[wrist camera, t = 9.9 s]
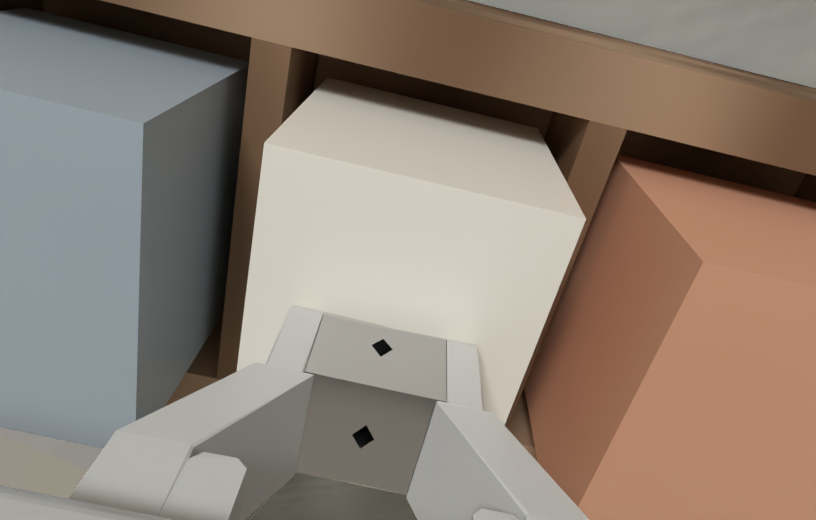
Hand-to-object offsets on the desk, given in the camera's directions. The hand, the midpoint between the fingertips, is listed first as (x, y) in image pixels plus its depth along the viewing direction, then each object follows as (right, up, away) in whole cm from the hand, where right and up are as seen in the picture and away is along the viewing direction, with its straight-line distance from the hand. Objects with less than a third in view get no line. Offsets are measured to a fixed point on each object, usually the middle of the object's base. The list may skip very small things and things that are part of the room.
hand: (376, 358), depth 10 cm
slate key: (-6, +3, +4) cm, 8 cm away
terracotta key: (+6, +1, +4) cm, 8 cm away
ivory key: (0, +2, +4) cm, 5 cm away
